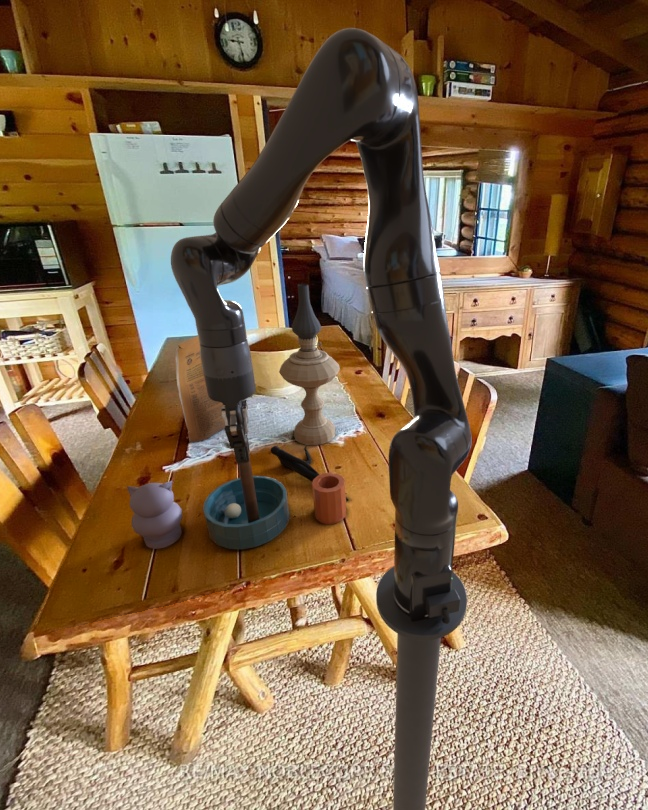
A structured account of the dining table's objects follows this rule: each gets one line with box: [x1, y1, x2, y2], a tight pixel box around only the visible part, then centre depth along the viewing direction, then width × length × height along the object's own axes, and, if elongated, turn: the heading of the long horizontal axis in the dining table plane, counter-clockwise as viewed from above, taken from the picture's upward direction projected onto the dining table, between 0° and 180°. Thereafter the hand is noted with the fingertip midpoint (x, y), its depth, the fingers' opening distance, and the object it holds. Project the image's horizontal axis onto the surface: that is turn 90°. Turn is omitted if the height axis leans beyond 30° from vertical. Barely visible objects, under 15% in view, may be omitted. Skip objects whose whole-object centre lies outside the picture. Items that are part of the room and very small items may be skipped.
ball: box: [225, 503, 241, 519], centre depth 88 cm, size 3×3×3 cm
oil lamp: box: [278, 283, 341, 446], centre depth 110 cm, size 15×15×40 cm
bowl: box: [202, 475, 290, 550], centre depth 87 cm, size 15×15×6 cm
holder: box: [311, 472, 347, 525], centre depth 89 cm, size 6×6×8 cm
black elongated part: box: [270, 445, 349, 502], centre depth 102 cm, size 8×9×25 cm
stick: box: [237, 443, 260, 523], centre depth 81 cm, size 2×2×20 cm
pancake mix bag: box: [174, 335, 225, 443], centre depth 115 cm, size 7×19×28 cm, turn 155°
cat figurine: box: [126, 480, 183, 550], centre depth 82 cm, size 8×8×12 cm
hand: (243, 457), depth 78 cm, fingers closed on stick, 2 cm apart
